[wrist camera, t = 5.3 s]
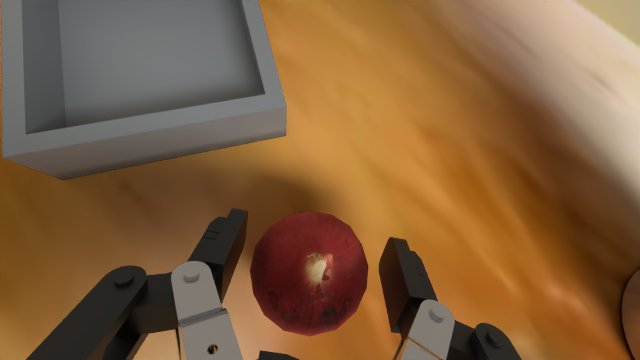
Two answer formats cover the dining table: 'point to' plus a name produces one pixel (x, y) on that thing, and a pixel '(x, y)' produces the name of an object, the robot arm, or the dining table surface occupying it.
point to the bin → (133, 81)
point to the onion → (309, 273)
